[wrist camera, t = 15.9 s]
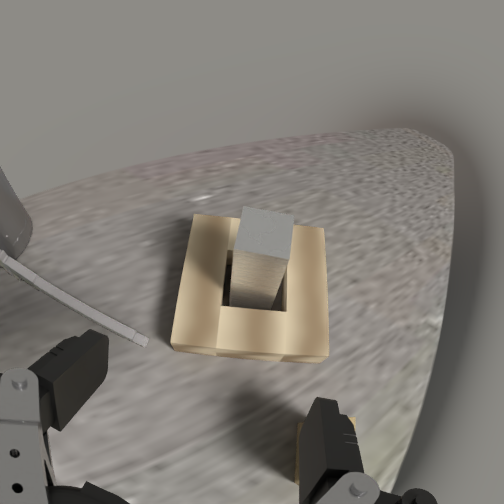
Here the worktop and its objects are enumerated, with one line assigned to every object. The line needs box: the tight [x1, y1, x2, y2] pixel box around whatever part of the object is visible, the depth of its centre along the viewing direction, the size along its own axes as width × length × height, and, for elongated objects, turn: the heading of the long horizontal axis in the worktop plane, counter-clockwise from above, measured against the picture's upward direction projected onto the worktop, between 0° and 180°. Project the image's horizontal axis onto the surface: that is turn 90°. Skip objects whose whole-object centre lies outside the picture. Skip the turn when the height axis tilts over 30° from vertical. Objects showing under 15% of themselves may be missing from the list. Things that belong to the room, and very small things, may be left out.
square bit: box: [229, 206, 294, 310], centre depth 29 cm, size 4×4×11 cm
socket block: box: [170, 214, 329, 363], centre depth 32 cm, size 14×14×3 cm
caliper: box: [0, 249, 149, 347], centre depth 28 cm, size 20×1×6 cm, turn 71°
